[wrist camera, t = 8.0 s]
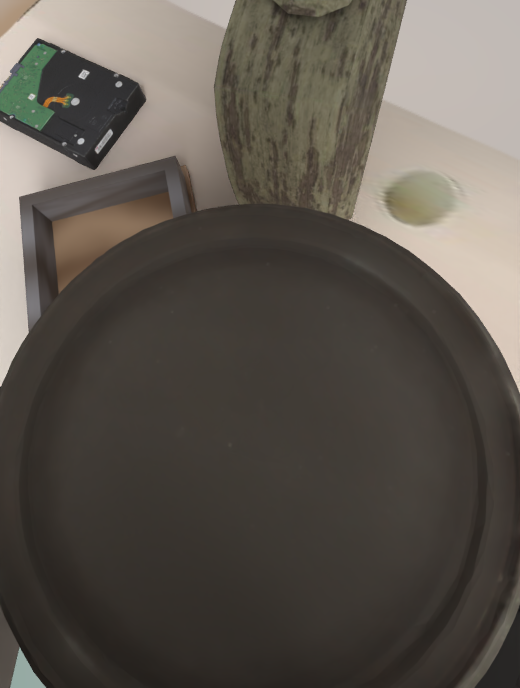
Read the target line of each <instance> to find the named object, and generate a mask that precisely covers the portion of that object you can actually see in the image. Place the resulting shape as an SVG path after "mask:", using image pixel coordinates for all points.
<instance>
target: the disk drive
mask: <svg viewBox="0 0 520 688" xmlns="http://www.w3.org/2000/svg"><path fill="white" fill-rule="evenodd" d="M10 73H12V75H11V76H9V77H8V78H7V80H6V81H4V82H5V83H4V84H2V86H1V87H0V121H1V122H3V123H4V124H6V125H8V126H10V127H11V128H13V129H15V130H18V131H20V132H22V133H24V134H26V135H28V136H30V137H31V138H33V139H35V140H37V141H39V142H41V143H43V144H45V145H47V146H49V147H51V148H52V149H54V150H57V151H58V152H60V153H62V154H64V155H66V156H68V157H70V158H72V159H74V160H75V161H77V162H78V163H80V164H82V165H84V166H87V167H89V168H91V169H93V170H95V169H96V168H97V167H98V165H99V164H100V162H101V161H102V160H103V158H104V157H105V156H106V154H107V153H108V152H109V150H110V149H111V148H112V146H113V145H114V144H115V142H116V141H117V140H118V138H119V137H120V135H121V134H122V133H123V131H124V130H125V129H126V127H127V126H128V125H129V123H130V122H131V121H132V119H133V118H134V117H135V115H136V114H137V112H138V111H139V109H140V108H141V107H142V106H143V104H144V103H145V101H146V99H145V96H144V94H143V92H142V90H141V88H140V86H139V84H138V83H137V82H134V81H133V80H131V79H129V78H127V77H125V76H123V75H120V74H119V75H118V74H117V73H115V72H113V71H111V70H108V69H106V68H104V67H102V66H99V65H97V64H95V63H93V62H90V61H88V60H86V59H84V58H81V57H80V56H77V55H75V54H73V53H70V52H69V51H66V50H64V49H61V48H60V47H58V46H55V45H53V44H51V43H48V42H46V41H44V40H41V39H39V38H37V39H36V40H35V41H34V43H33V44H32V45H31V47H30V48H29V49H28V50H27V51H26V53H25V54H24V55H23V56H22V58H21V59H20V60H19V62H18V63H16V64H15V65H14V67H13V68H12V69H11V71H10Z"/></svg>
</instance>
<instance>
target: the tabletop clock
mask: <svg viewBox="0 0 520 688" xmlns="http://www.w3.org/2000/svg"><path fill="white" fill-rule="evenodd" d="M406 1H407V0H236V1H235V5H234V8H233V11H232V14H231V17H230V20H229V23H228V27H227V30H226V33H225V37H224V40H223V43H222V48H221V52H220V56H219V60H218V66H217V72H216V78H215V84H214V92H215V105H216V116H217V123H218V129H219V135H220V141H221V146H222V150H223V154H224V159H225V163H226V168H227V172H228V176H229V179H230V182H231V185H232V188H233V191H234V193H235V196H236V199H237V201H238V203H239V205H241V204H279V205H287V206H295V207H303V208H308V209H312V210H316V211H321V212H325V213H330V214H333V215H336V216H338V217H341V218H344V219H346V220H348V219H351V218H352V215H353V212H354V208H355V204H356V200H357V196H358V192H359V188H360V184H361V181H362V177H363V173H364V169H365V165H366V161H367V157H368V153H369V149H370V146H371V142H372V138H373V134H374V130H375V126H376V122H377V118H378V114H379V110H380V106H381V102H382V98H383V94H384V90H385V86H386V82H387V78H388V74H389V70H390V66H391V62H392V58H393V54H394V50H395V46H396V42H397V38H398V34H399V30H400V26H401V21H402V17H403V14H404V10H405V6H406Z"/></svg>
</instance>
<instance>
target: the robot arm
mask: <svg viewBox="0 0 520 688" xmlns="http://www.w3.org/2000/svg"><path fill="white" fill-rule="evenodd" d="M0 389H1V387H0ZM19 647H20V646H19V644H18V642H17V641H16V639H15V637H14V635H13V633H12V631H11V629H10V627H9V625H8V623H7V621H6V619H5V616H4V614H3V611H2V609H1V606H0V688H10V685H11V681H12V677H13V672H14V668H15V664H16V659H17V655H18V651H19ZM474 688H520V605H519V608H518V611H517V613H516V616H515V619H514V621H513V623H512V625H511V627H510V629H509V632H508V634H507V636H506V638H505V640H504V642H503V644H502V646H501V648H500V650H499V652H498V654H497V656H496V657H495V659H494V661H493V662H492V664H491V665H490V667H489V669H488V670H487V672H486V673H485V675H484V676H483V677H482V679H481V680H480V681H479V682H478V683H477V685H476V686H475V687H474Z"/></svg>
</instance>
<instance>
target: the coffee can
mask: <svg viewBox="0 0 520 688" xmlns="http://www.w3.org/2000/svg"><path fill="white" fill-rule="evenodd" d="M519 605H520V393H519V390H518V388H517V385H516V383H515V381H514V379H513V377H512V374H511V372H510V370H509V368H508V366H507V363H506V361H505V359H504V357H503V355H502V353H501V351H500V350H499V348H498V346H497V345H496V343H495V342H494V340H493V338H492V337H491V335H490V334H489V332H488V331H487V329H486V328H485V326H484V325H483V323H482V322H481V320H480V319H479V317H478V316H477V315H476V313H475V312H474V311H473V310H472V309H471V307H470V306H469V305H468V304H467V302H466V301H465V300H464V299H463V298H462V296H461V295H460V294H459V293H458V292H457V291H456V290H455V289H454V288H453V287H452V286H451V285H449V284H448V283H447V282H446V281H445V280H444V279H443V278H442V277H441V276H440V275H439V274H437V273H436V272H435V271H434V270H433V269H431V268H430V267H429V266H428V265H427V264H425V263H424V262H423V261H422V260H420V259H419V258H418V257H416V256H415V255H414V254H412V253H411V252H410V251H408V250H407V249H405V248H403V247H402V246H400V245H398V244H396V243H395V242H393V241H392V240H390V239H388V238H387V237H385V236H383V235H381V234H378V233H376V232H374V231H372V230H370V229H368V228H366V227H364V226H362V225H359V224H357V223H354V222H352V221H349V220H346V219H344V218H341V217H338V216H336V215H333V214H330V213H325V212H321V211H316V210H312V209H308V208H303V207H295V206H287V205H279V204H241V205H232V206H224V207H217V208H211V209H206V210H202V211H197V212H193V213H189V214H185V215H182V216H179V217H176V218H173V219H169V220H166V221H163V222H161V223H158V224H156V225H154V226H151V227H149V228H146V229H143V230H142V231H140V232H138V233H136V234H135V235H133V236H131V237H129V238H127V239H125V240H123V241H122V242H120V243H118V244H117V245H115V246H113V247H112V248H110V249H109V250H107V251H106V252H105V253H104V254H103V255H101V256H99V257H98V258H96V259H95V260H94V261H93V262H92V263H91V264H90V265H89V266H88V267H87V268H86V269H84V270H83V271H82V272H81V273H80V274H78V275H77V276H76V277H75V278H74V279H73V280H71V282H70V283H69V284H68V285H67V286H66V287H65V288H64V289H63V290H62V291H61V292H60V294H59V295H58V296H57V297H56V298H55V299H54V301H53V302H52V303H51V304H50V305H49V306H48V307H47V309H46V310H45V311H44V313H43V314H42V315H41V317H40V318H39V319H38V321H37V322H36V323H35V325H34V326H33V327H32V329H31V331H30V332H29V334H28V335H27V337H26V338H25V340H24V341H23V343H22V344H21V346H20V348H19V350H18V352H17V353H16V355H15V357H14V359H13V361H12V363H11V365H10V368H9V370H8V373H7V375H6V377H5V379H4V381H3V383H2V386H1V389H0V606H1V609H2V611H3V614H4V616H5V619H6V621H7V623H8V625H9V627H10V629H11V631H12V633H13V635H14V637H15V639H16V641H17V642H18V644H19V646H20V648H21V650H22V652H23V653H24V656H25V657H26V659H27V661H28V663H29V664H30V666H31V668H32V670H33V672H34V673H35V674H36V676H37V677H38V678H39V679H40V681H41V682H42V683H43V684H44V685H45V686H46V688H474V687H475V686H476V685H477V683H478V682H479V681H480V680H481V679H482V677H483V676H484V675H485V673H486V672H487V670H488V669H489V667H490V665H491V664H492V662H493V661H494V659H495V657H496V656H497V654H498V652H499V650H500V648H501V646H502V644H503V642H504V640H505V638H506V636H507V634H508V632H509V629H510V627H511V625H512V623H513V621H514V619H515V616H516V613H517V611H518V608H519Z"/></svg>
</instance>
